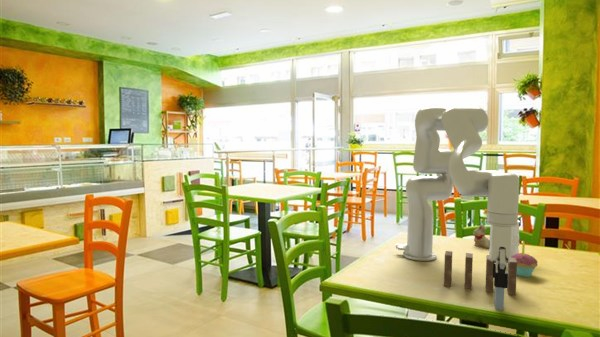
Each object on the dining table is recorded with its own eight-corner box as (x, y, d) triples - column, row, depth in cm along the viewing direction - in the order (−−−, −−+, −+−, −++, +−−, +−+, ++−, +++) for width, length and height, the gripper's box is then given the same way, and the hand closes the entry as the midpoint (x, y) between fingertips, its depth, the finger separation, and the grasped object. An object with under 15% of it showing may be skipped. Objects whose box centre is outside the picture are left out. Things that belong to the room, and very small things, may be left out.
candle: (512, 256, 162) (513, 218, 161) (522, 261, 155) (523, 222, 154) (495, 256, 162) (496, 218, 161) (504, 261, 155) (505, 222, 154)
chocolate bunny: (483, 244, 181) (484, 221, 180) (493, 248, 173) (494, 225, 172) (471, 244, 180) (472, 221, 180) (480, 249, 173) (481, 225, 172)
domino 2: (464, 288, 126) (465, 257, 125) (464, 283, 131) (465, 252, 130) (471, 289, 125) (472, 257, 125) (471, 284, 130) (472, 253, 129)
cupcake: (536, 280, 134) (538, 244, 133) (507, 275, 138) (508, 240, 138) (537, 273, 141) (539, 238, 140) (509, 269, 146) (511, 235, 145)
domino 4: (495, 309, 111) (496, 273, 110) (494, 302, 116) (495, 267, 115) (503, 310, 110) (504, 273, 110) (502, 303, 115) (503, 268, 114)
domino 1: (443, 286, 128) (444, 254, 128) (444, 281, 133) (445, 250, 132) (450, 287, 128) (451, 255, 127) (451, 281, 132) (452, 251, 132)
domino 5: (508, 294, 121) (509, 261, 121) (506, 289, 126) (508, 257, 125) (515, 295, 121) (517, 262, 120) (514, 290, 125) (515, 257, 125)
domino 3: (485, 291, 124) (487, 259, 123) (485, 286, 128) (486, 255, 128) (493, 292, 123) (494, 260, 122) (492, 287, 128) (493, 255, 127)
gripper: (486, 212, 121) (484, 271, 122) (487, 223, 105) (485, 291, 106) (514, 214, 118) (512, 274, 119) (521, 225, 102) (518, 295, 103)
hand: (499, 282), depth 113 cm, fingers open, 7 cm apart
